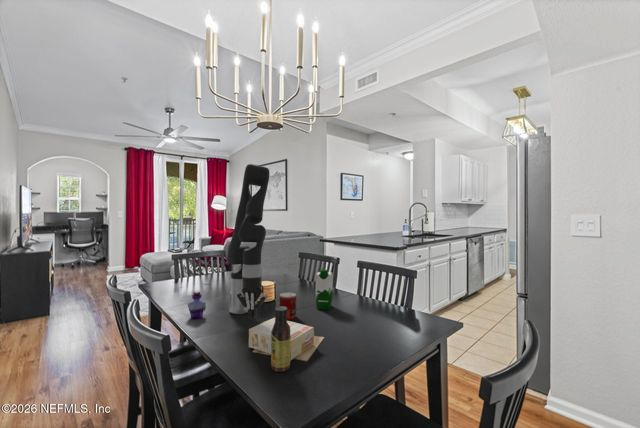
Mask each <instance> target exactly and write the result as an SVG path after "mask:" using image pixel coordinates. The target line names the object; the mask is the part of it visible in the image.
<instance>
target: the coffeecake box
mask: <svg viewBox="0 0 640 428" xmlns="http://www.w3.org/2000/svg"><path fill="white" fill-rule="evenodd" d="M262 322H263V321H262ZM262 322H261V323H260V324H259V323H258V324H257V325H255V326H253V327H251V328H248V348H251V349H253V350H255V349H257V350H260V351H263V352H266V353H269V354H271V332H272V329H273V326H274V323H275V317H273V318H271V319H268V320H266V322H263V323H262ZM287 323H288V325H289V326H290V336H291V347H290V362H291V361H293V360H295V359H294V358H295V357H297V356H298V355H299V354H301V353H302V352H304V351H305V350H307V349H308V348H309V347H311V346H312V345H314V336H315V327H314V326H312V325H311V326H310V325H307V324H302V323H298V322H294V321H291V320H287Z"/></svg>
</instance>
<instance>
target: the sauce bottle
mask: <svg viewBox="0 0 640 428" xmlns="http://www.w3.org/2000/svg"><path fill="white" fill-rule="evenodd" d="M274 316H275V317H274V318H275V323H274V326H273V329H272V332H271V355H270V365H271V369H272V370H273V371H274V372H278V373H281V372H286V371H288V370H289V369H290V367H291V361H290V347H291V336H290V326H289V325H288V323H287V321H288V320H287V307H284V306H280V305H279V306H276V307H275V308H274Z"/></svg>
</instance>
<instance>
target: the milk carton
mask: <svg viewBox="0 0 640 428" xmlns="http://www.w3.org/2000/svg"><path fill="white" fill-rule="evenodd" d="M333 286H334V283H333V272H332V271H331V272H330V271H329V270H328V269H320V270H319V271H317V273H316V274H315V304H316V305H315V306H316V310H331V307H332V302H333V293H334V292H333Z"/></svg>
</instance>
